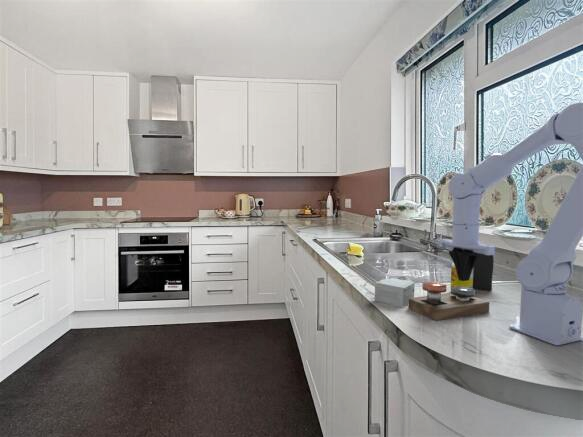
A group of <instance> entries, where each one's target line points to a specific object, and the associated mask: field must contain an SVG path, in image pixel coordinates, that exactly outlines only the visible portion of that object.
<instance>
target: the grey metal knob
mask: <svg viewBox="0 0 583 437" xmlns="http://www.w3.org/2000/svg"><path fill="white" fill-rule="evenodd" d="M450 293H451V294H453V295H456V299H457V300H460V301H463V302H465V301H469V299H470V297H475V296H476V289H472V288H468V287H461V286H455V287H451V286H450Z"/></svg>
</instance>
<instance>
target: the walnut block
mask: <svg viewBox="0 0 583 437" xmlns="http://www.w3.org/2000/svg"><path fill="white" fill-rule="evenodd" d="M407 305H408V307H407V308H408V309H409V310H410V311H413V312H416V313H418V314H420V315H422V316H424V317H427V318H429V319H431V320H433V321H435V322H438V321H446V320H450V319H457V318H461V317H462V318H463V317H468V316H474V315H480V314H482V315H483V314H487V313H490V301H488V300H484V299H482V298H478V297H475V296H474V297H470V299H469V301H465V302H463V301H460V300H457V299H456V295H453V294H451V292H445V293H441V303H440V304H431V303H428V302H427V295H424V296H418V297H415V296H414V298H409V303H408V304H407Z"/></svg>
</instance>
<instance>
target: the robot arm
mask: <svg viewBox="0 0 583 437" xmlns="http://www.w3.org/2000/svg"><path fill="white" fill-rule="evenodd" d="M568 144H570V145H571V146H572V147H574V150H575V151H576V152H577V155H579V157H580V159H581V161H582V162H583V102H576V103H575V102H574V103H573V104H569V105H568V106H566V107H565V108H563V109H562V110H561V111H560V112H559V113H555V114H553V115H551V116H550V117H549V118H548V119H547V120H546V121H545V122H544V123H543V124H542V125H540V126H539V127H537V128H536V129H535V130H533V132H531V133H530V134H529V135H527V136H525V137H524V138H523V139H522V140H520V141H519V142H518V143H516V144H515V145H514V146H512V147H510V149H507V150H506V151H505V152H504V153H497V152H496V153H493V154H491V153H490V154H486V155H485V156H484V157H483V160H482V161H481V162H479V163H478V164H476V165H475V166H474V167H468V169H466V172H465V173H463V172H458V173H455V174H454V175H453V176H452V177H451V179H450V180H449V181H448V192H449V194H450V195H451V196H452V199H453V200H452V201H453V203H452V228H451V229H452V231H451V232H452V233H451V239H447V238H439V239H438V247H440V248H449V249H452V250H449V251H448V254H449V257H450V259H452V263H454V265H455V268H456V271H457V275H458V279H459V280H461V281H468V280H469V278H470V275H471V272H472V269H473V267H474V265H475V263H476V261H477V260H478V259H479V257H480V256H481V254H485V255H493V256H495V254H496V251H495V250H496V246H494V245H490V244H489V245H488V244H485V243H481V242H480V241H479V236H480V235H479V234H480V210H481V209H480V207H481V202H482V201H481V200H482V197H483V196H484V194H485V192H486V190H487V189H489V188H490V187H492V186H494V185H495V184H497V183H499V182H500V181H502V180H504V179H506V178H507V177H509V176H510V175H512V173H513V169H514V167H515V166H517V165H518V164H520V163H522V162H524V161H526V160H528V159H530V158H531V157H532V156H535V155H537V154H538V153H541V152H542V151H543V150H545V149H547V148H549V147H551V146H554V145H568ZM582 238H583V164H582V165H581V167H580V169H579V171H578V172H577V174H576V176H575V178H574V180H573V182H572V183H571V186H570V187H569V189H568V191H567V193H566V195H565V197H564V199H563V200H562V203H561V205H560V206H559V208H558V210H557V212H556V213H555V216H554V217H553V219H552V221H551V223H550V224H549V226H548V229H547V230H546V232H545V234H544V236H543V238H542V239H541V240H540V241H539V242H538V243H537V244H536V245H535V246H534V247H533V248H531V250H530V251H529V253H528V255H527V256H526V257H524V258H523V259H521V260H520V261H518V263H517V265H516V266H515V277H516V279H517V281H518V282H519V284H520V285H521V287H520V288H521V289H520V291H521V292H520V308H519V309H520V310H519V323H514V324H509V325H508V327H509V329H512V330H515V331H517V332H520V333H522V334H525V335H528V336H530V337H533V338H535V339H537V340H541V341H543V342H545V343H549V344H550V345H553V346H560V345H561V346H562V345H565V344H570V343H574V342H579V341H582V340H583V336H582V323H583V305H582V302H581V300H580V299H579V298H577V297H575V296H572V295H570V294H569V293H567V287H566V283H568V282H569V281H570V280H571V278H572V277H573V273H574V268H573V266H574V262H575V261H576V259H577V253H576V248H577V246H578V245H579V243H580V241H581V239H582Z"/></svg>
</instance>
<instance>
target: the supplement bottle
mask: <svg viewBox="0 0 583 437" xmlns="http://www.w3.org/2000/svg"><path fill="white" fill-rule="evenodd" d="M450 268H451V269H450V271H451V272H450V288H451V287H455V286H461V287H468V288H472V289H473V269H472V272H471V275H470V278H469V280H468V281H461V280H459V279H458V275H457V271H456V268H455V265H454V262H452V263H451V267H450Z"/></svg>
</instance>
